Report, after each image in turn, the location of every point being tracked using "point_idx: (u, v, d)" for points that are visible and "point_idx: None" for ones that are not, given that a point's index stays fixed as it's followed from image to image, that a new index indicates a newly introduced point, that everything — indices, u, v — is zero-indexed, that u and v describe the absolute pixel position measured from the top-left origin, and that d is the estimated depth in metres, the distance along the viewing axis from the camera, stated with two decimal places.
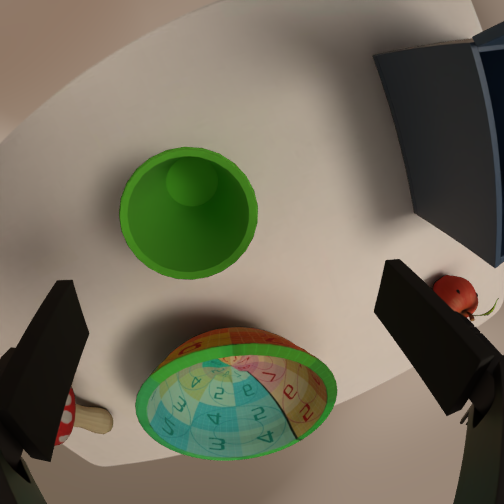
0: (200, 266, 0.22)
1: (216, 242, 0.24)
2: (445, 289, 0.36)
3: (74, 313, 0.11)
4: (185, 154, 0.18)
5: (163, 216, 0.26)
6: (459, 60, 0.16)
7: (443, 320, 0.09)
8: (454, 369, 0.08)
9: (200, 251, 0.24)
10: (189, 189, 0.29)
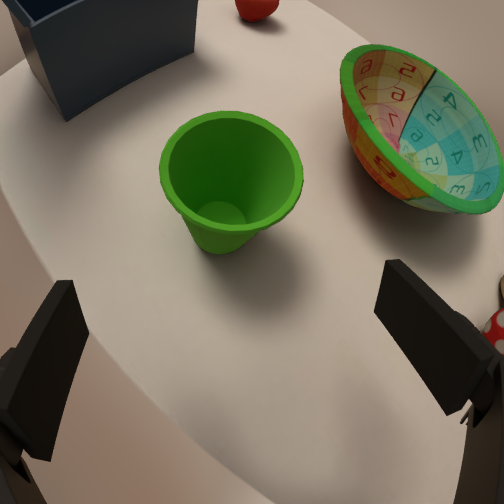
0: (282, 151, 0.21)
1: (259, 155, 0.23)
2: (249, 8, 0.36)
3: (74, 313, 0.11)
4: (167, 179, 0.18)
5: None
6: (46, 34, 0.18)
7: (443, 320, 0.09)
8: (454, 369, 0.08)
9: (272, 166, 0.22)
10: None
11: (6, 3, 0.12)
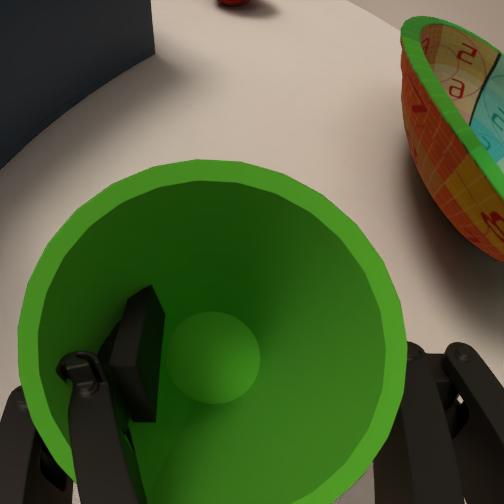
0: (338, 258, 0.08)
1: (273, 255, 0.10)
2: None
3: None
4: (45, 413, 0.05)
5: (282, 389, 0.12)
6: None
7: None
8: None
9: (309, 281, 0.09)
10: (228, 356, 0.16)
11: None
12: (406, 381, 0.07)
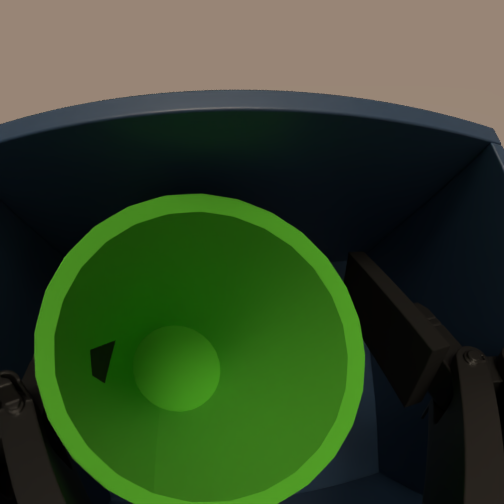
0: (309, 284, 0.10)
1: (249, 277, 0.12)
2: None
3: None
4: (61, 411, 0.06)
5: (247, 396, 0.13)
6: None
7: (397, 310, 0.10)
8: (409, 359, 0.09)
9: (280, 301, 0.11)
10: (191, 367, 0.17)
11: None
12: (469, 382, 0.07)
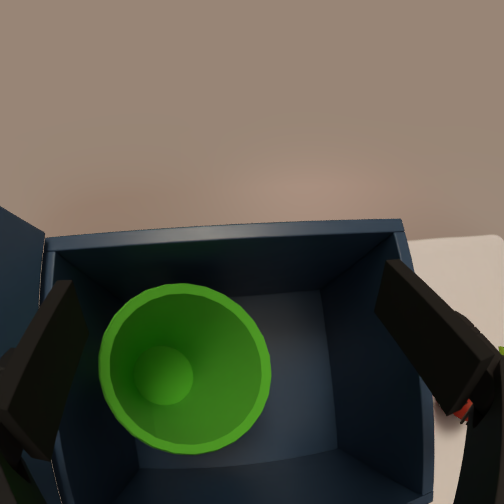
0: (244, 333, 0.17)
1: (212, 324, 0.19)
2: None
3: (74, 313, 0.11)
4: (112, 395, 0.13)
5: (209, 395, 0.20)
6: None
7: (443, 320, 0.09)
8: (454, 369, 0.08)
9: (229, 340, 0.19)
10: (173, 375, 0.24)
11: None
12: None
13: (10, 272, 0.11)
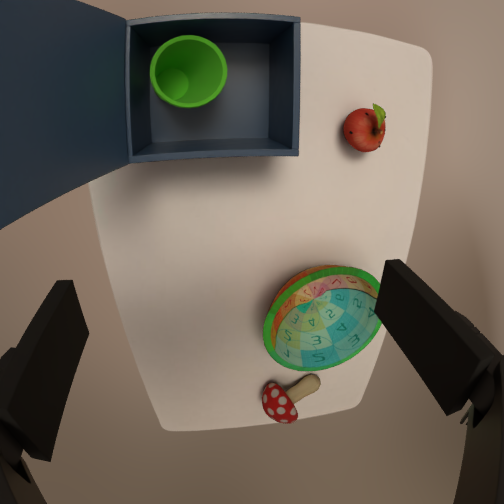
0: (216, 57, 0.32)
1: (202, 54, 0.33)
2: (346, 138, 0.45)
3: (74, 313, 0.11)
4: (155, 82, 0.30)
5: (196, 90, 0.37)
6: None
7: (443, 320, 0.09)
8: (454, 369, 0.08)
9: (209, 61, 0.33)
10: (177, 83, 0.40)
11: None
12: None
13: (115, 37, 0.24)
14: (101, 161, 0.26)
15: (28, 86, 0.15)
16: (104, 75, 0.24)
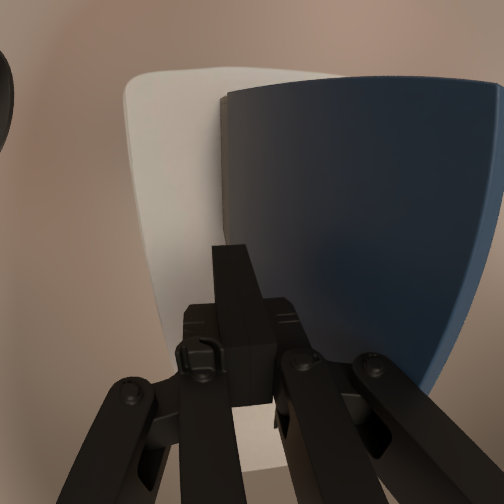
0: None
1: None
2: None
3: None
4: None
5: None
6: None
7: (239, 302, 0.10)
8: None
9: None
10: None
11: None
12: (303, 393, 0.07)
13: None
14: None
15: None
16: None
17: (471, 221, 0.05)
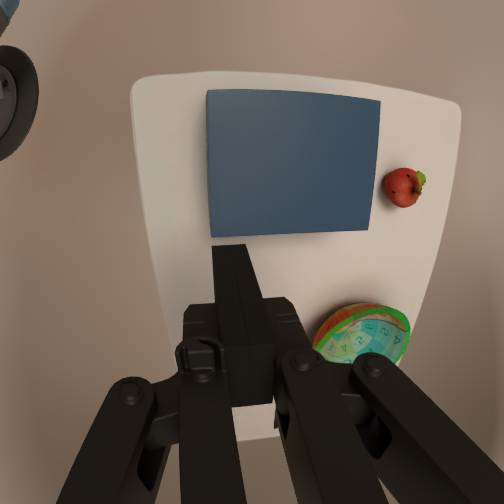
0: None
1: None
2: (388, 195, 0.50)
3: None
4: None
5: None
6: None
7: (239, 302, 0.10)
8: None
9: None
10: None
11: (242, 235, 0.37)
12: (303, 393, 0.07)
13: None
14: None
15: None
16: None
17: (378, 123, 0.33)
